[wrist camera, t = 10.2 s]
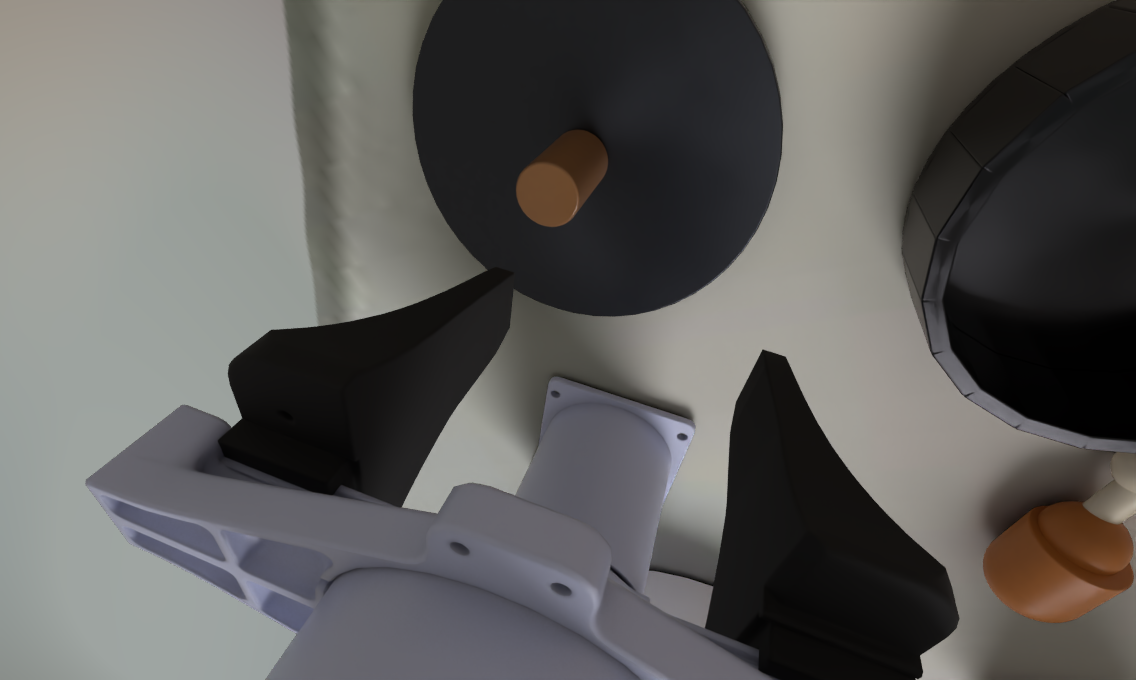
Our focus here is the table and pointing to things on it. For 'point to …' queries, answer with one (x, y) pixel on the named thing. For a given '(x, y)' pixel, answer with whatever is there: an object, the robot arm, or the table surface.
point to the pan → (1039, 239)
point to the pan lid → (599, 143)
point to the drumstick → (1067, 552)
